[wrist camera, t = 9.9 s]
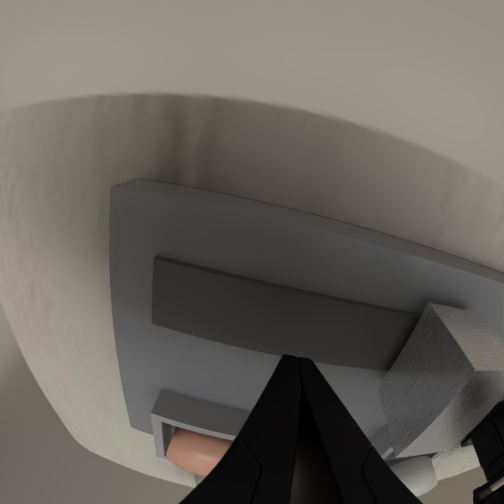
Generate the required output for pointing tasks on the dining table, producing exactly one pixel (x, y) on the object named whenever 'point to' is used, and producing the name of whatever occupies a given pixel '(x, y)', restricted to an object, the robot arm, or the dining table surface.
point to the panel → (265, 306)
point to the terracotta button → (196, 451)
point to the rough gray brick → (442, 381)
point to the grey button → (416, 474)
